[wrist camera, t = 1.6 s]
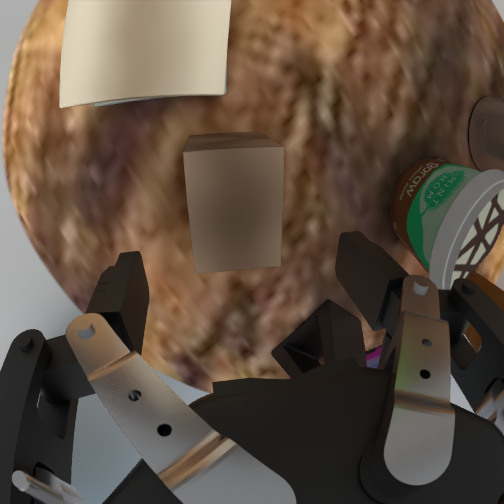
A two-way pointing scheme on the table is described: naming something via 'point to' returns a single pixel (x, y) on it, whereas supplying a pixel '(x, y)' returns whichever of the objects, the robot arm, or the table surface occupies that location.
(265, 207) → the walnut block
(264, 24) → the table surface
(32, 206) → the table surface
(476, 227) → the food container
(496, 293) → the disposable coffee cup
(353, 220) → the table surface
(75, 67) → the slab top
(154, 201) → the table surface
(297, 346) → the phone stand
